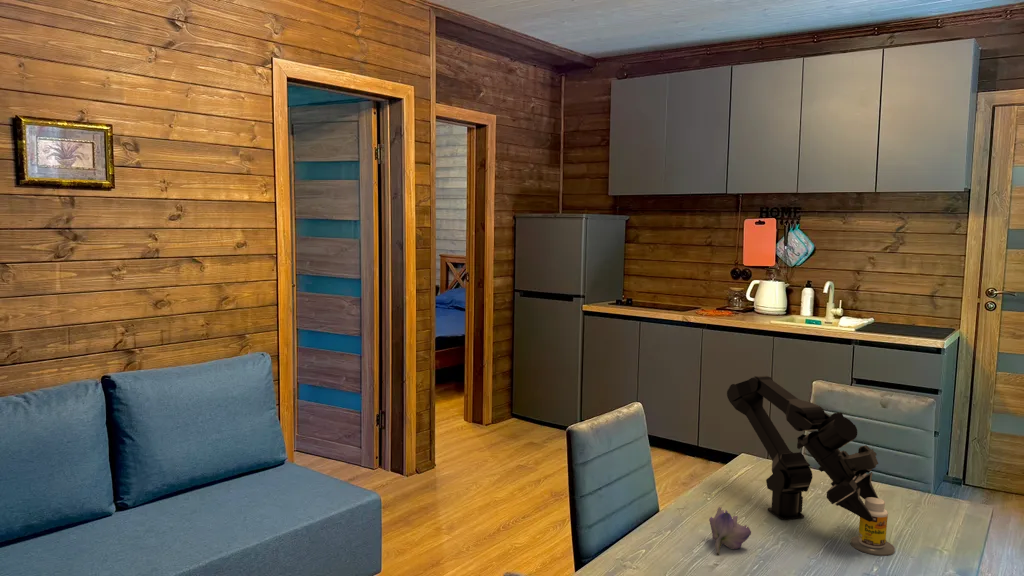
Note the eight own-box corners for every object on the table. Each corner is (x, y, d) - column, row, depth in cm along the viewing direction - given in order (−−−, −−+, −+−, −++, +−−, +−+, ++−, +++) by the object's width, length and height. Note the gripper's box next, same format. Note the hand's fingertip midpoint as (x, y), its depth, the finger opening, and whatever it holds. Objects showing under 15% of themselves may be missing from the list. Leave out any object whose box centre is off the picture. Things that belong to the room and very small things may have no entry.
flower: (736, 534, 155) (738, 499, 163) (698, 541, 159) (702, 507, 167) (755, 564, 158) (756, 528, 166) (717, 570, 162) (720, 534, 170)
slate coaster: (869, 557, 160) (869, 555, 160) (841, 539, 168) (841, 537, 168) (904, 553, 162) (904, 551, 162) (874, 536, 171) (874, 534, 171)
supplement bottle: (859, 547, 164) (863, 503, 163) (856, 537, 169) (859, 494, 168) (887, 551, 162) (891, 506, 161) (882, 540, 167) (886, 497, 166)
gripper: (845, 446, 159) (898, 509, 153) (865, 427, 173) (913, 484, 168) (805, 473, 164) (855, 534, 159) (827, 452, 179) (873, 508, 173)
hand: (876, 514), depth 164 cm, fingers open, 9 cm apart
